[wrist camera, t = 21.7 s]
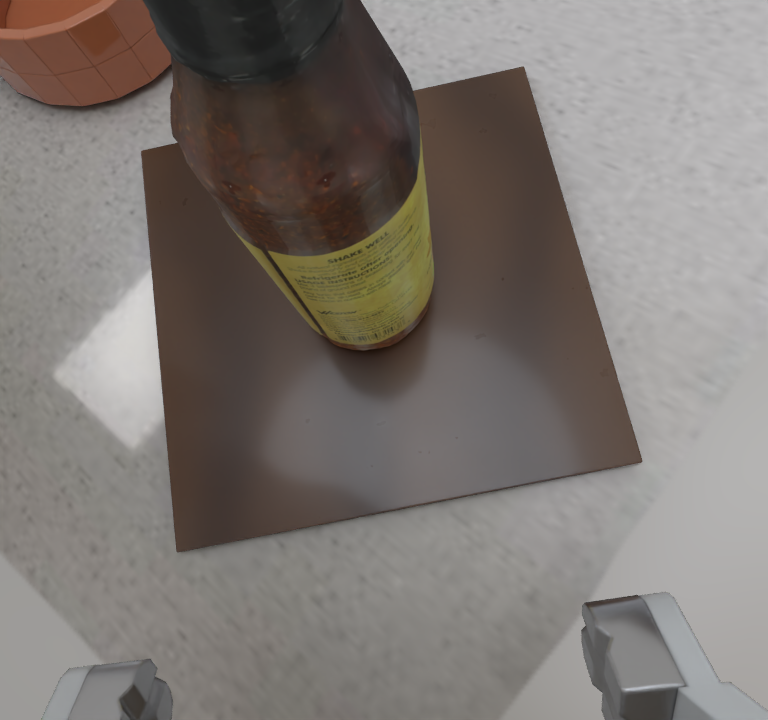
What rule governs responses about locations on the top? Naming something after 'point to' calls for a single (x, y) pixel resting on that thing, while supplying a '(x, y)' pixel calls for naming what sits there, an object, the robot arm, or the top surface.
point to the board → (388, 364)
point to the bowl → (79, 49)
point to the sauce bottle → (308, 154)
